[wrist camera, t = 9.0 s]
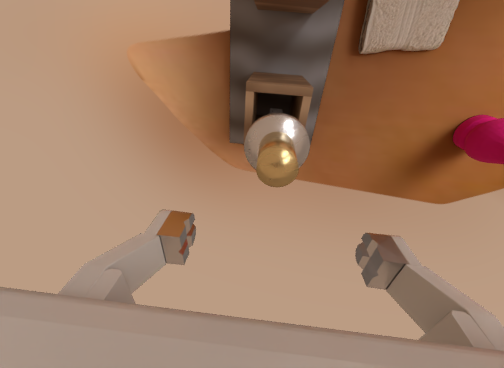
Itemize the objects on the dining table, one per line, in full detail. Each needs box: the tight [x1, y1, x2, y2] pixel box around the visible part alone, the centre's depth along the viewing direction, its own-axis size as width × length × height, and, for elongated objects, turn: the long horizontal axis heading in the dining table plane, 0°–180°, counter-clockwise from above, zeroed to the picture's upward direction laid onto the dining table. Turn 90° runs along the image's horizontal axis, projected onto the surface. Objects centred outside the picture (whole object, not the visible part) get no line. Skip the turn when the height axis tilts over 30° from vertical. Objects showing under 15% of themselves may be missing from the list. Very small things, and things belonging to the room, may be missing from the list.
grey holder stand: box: [230, 0, 344, 145], centre depth 28 cm, size 34×16×14 cm, turn 176°
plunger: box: [244, 108, 310, 187], centre depth 22 cm, size 6×6×15 cm
